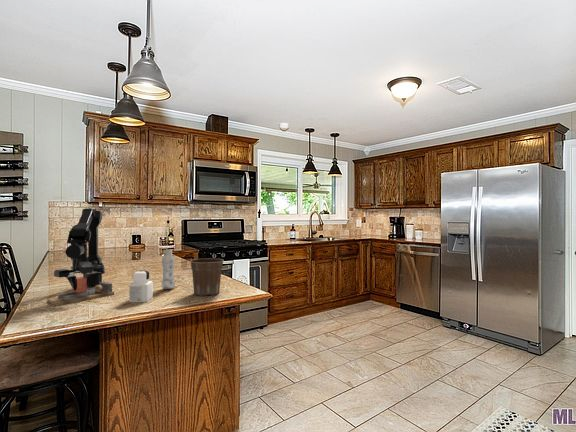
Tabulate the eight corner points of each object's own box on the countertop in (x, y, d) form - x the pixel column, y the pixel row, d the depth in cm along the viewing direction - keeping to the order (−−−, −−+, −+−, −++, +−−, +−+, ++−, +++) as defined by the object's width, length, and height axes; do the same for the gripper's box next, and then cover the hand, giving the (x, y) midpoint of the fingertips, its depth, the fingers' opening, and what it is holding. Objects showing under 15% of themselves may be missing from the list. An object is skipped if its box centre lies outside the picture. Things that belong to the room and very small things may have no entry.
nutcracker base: (103, 291, 166) (103, 281, 166) (114, 294, 160) (114, 283, 160) (47, 302, 146) (47, 290, 146) (57, 306, 141) (57, 293, 141)
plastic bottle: (177, 288, 175) (177, 249, 174) (169, 291, 168) (169, 251, 168) (167, 287, 177) (167, 249, 176) (158, 290, 170) (158, 250, 170)
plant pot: (199, 288, 175) (199, 257, 174) (228, 290, 171) (228, 258, 171) (183, 296, 159) (183, 261, 158) (215, 298, 155) (215, 263, 155)
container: (135, 297, 155) (135, 269, 155) (152, 297, 156) (153, 269, 155) (129, 302, 147) (129, 272, 147) (147, 302, 148) (147, 272, 148)
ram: (91, 292, 159) (91, 275, 158) (95, 293, 156) (95, 276, 156) (72, 295, 152) (72, 277, 152) (77, 296, 150) (77, 278, 150)
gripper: (65, 259, 140) (65, 296, 140) (109, 254, 155) (109, 288, 156) (53, 257, 146) (53, 292, 146) (97, 252, 162) (97, 285, 162)
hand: (79, 289), depth 152 cm, fingers closed on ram, 4 cm apart
